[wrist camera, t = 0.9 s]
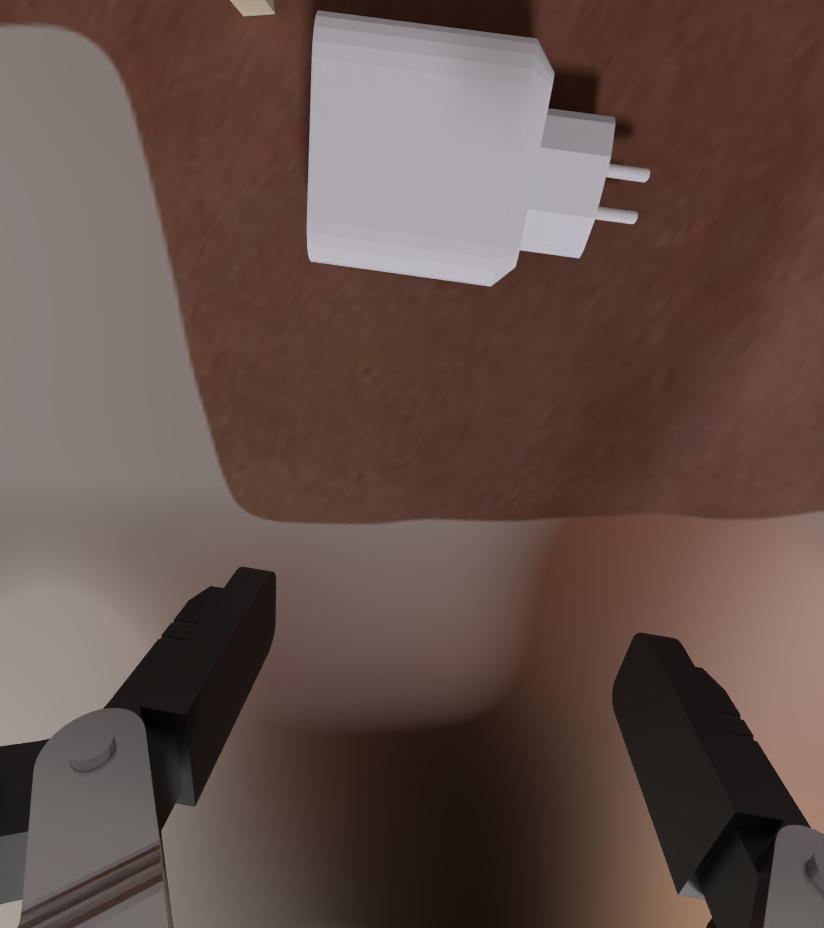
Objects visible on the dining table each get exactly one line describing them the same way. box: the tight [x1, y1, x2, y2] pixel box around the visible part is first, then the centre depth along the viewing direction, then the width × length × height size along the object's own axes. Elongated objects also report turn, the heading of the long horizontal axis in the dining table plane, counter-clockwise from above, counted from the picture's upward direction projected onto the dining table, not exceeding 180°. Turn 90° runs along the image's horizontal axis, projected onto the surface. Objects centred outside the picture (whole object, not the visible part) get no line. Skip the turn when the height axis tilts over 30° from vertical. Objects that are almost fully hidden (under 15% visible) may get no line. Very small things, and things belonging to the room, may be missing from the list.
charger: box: [307, 10, 650, 287], centre depth 22 cm, size 5×9×15 cm
